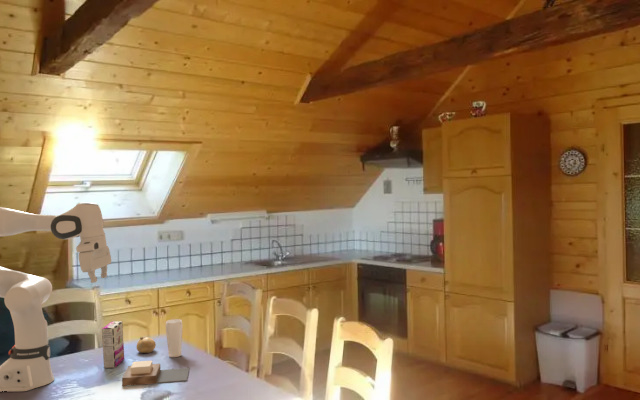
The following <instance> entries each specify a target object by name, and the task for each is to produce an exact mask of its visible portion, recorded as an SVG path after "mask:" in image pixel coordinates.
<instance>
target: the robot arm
mask: <svg viewBox="0 0 640 400" xmlns="http://www.w3.org/2000/svg"><path fill="white" fill-rule="evenodd" d="M103 219H104V218H103V215H102V211H101V208H100V205H99V204H98V203H96V202H89V201H87V202H86V201H85V202H84V201H82V202H78V203H76V205H75V206H73V208H71V209H70V210H67V211H66V212H63V213H61V214H59V215H58V214H57V215H52V214H39V213H38V214H37V213H36V214H34V213H29V212H26V211H25V212H24V211H21V210H16V209H12V208H7V207H2V206H0V237H10V236H15V235H18V234H22V233H28V232H37V231H41V232H51V233H52V235H53V236H54V237H55V238H57V239H60V240H69V239H74V238H79V239H80V242H79V243H78V245H77V246H76V253H78V261H79V266H80V270H81V271H82V273H87V275H88V277H89V279H90V283H92V284H93V283H97V282H98V277H97V276H96V270H98V269H100V271H101V273H100V277H101V279H106V278H107V277H108V273H107V272H108V265H110V264H111V263H112V255H111V251H110V248H109V246H108V245H107V244H108V243H107V239H106V233H105V231H104V220H103ZM52 292H53V285H52V283H51V281H50V280H49V279H48V278H46V277H43V276H38V275H33V274H29V273H25V272H22V271H18V270H13V269H9V268H7V267H3V266H1V265H0V298H3V299H4V300H3V301H4V305H5V307H6V308H7V309H8V310H9V312H10V316H11V319H12V323H13V329H14V345H13V346H12V347H11V348H10V349H9V351H8V356H9V358H7V360H5V361H3V363H2V364H0V392H2V391H3V392H2V393H4V391H7V392H27V391H28V392H29V391H31V390H33V389H36V388H39V387H43V386H46V385H48V384H51V383H52V382H53V381H55V377H54V374H53V370H52V365H51V360H50V357H51V345H50V342H49V332H48V331H49V329H48V327H49V326H48V322H47V320H46V318H45V315H44V312H43V308H42V305H43V304H44V303H45V302H47V301H48V299H49V298H50V297H51V295H52Z"/></svg>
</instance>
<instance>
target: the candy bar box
mask: <svg viewBox="0 0 640 400" xmlns="http://www.w3.org/2000/svg"><path fill="white" fill-rule="evenodd" d="M123 324H124V323H123V320H122V321H121V320H119V321H117V320H116V321H115V320H114V321H111V322H109V323H108V324H106V325H105V326H104V327H102V328H101V336H102V354H103V368H104V369H115V368H117V367H118V366H119V365H120V364H121V363H122V362H123V361H124V360H125V349H124V348H125V347H124V344H125V343H124V328H123V327H124V326H123Z"/></svg>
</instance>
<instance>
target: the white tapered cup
mask: <svg viewBox="0 0 640 400" xmlns="http://www.w3.org/2000/svg"><path fill="white" fill-rule="evenodd" d="M165 334H166V335H165V336H166V342H167V349H168V357H170V358H179V357H180V356H182V345H183V343H182V341H183V320H182V319H180V318H179V319H178V318H175V319H174V318H173V319H168V320H166V321H165Z"/></svg>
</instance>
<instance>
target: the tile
mask: <svg viewBox="0 0 640 400" xmlns="http://www.w3.org/2000/svg"><path fill="white" fill-rule="evenodd" d="M152 364H153V360H142V361H141V360H140V361H139V360H138V361H133V362H132V364H131V365H130V366H131V368H130V369H131V374H142V373H150V372H151V370H152V367H153V366H152Z"/></svg>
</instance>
